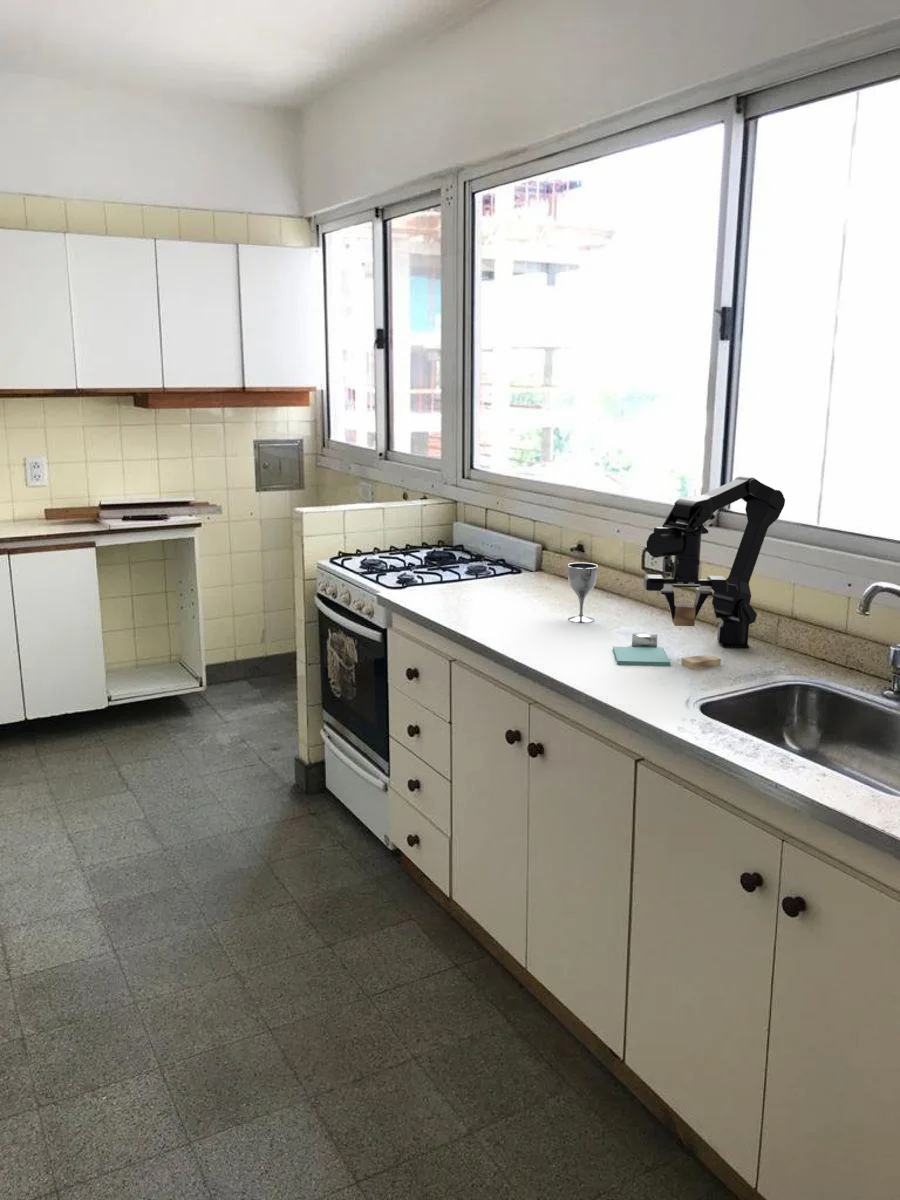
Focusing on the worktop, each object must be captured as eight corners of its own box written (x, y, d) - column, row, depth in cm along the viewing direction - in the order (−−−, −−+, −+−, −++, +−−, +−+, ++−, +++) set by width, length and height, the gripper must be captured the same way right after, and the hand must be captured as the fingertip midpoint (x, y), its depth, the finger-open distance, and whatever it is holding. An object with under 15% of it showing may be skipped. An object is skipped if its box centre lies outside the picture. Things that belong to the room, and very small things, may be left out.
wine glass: (572, 624, 259) (574, 568, 256) (561, 617, 267) (563, 563, 263) (600, 622, 261) (602, 567, 258) (588, 615, 269) (590, 561, 265)
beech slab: (709, 662, 227) (709, 654, 226) (720, 667, 223) (721, 658, 223) (681, 666, 224) (681, 658, 223) (691, 671, 220) (692, 662, 220)
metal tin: (655, 643, 242) (655, 631, 241) (658, 650, 236) (659, 638, 235) (630, 643, 242) (631, 631, 241) (633, 649, 236) (633, 637, 235)
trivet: (663, 650, 235) (663, 647, 234) (670, 665, 223) (670, 662, 223) (612, 649, 235) (612, 646, 235) (617, 664, 224) (617, 660, 224)
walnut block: (691, 621, 232) (692, 603, 231) (694, 626, 227) (695, 607, 226) (672, 621, 232) (673, 602, 231) (674, 625, 227) (675, 607, 226)
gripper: (721, 548, 233) (717, 611, 236) (642, 547, 234) (639, 610, 238) (731, 556, 222) (726, 623, 226) (648, 555, 223) (644, 621, 227)
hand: (683, 619), depth 229 cm, fingers closed on walnut block, 4 cm apart
